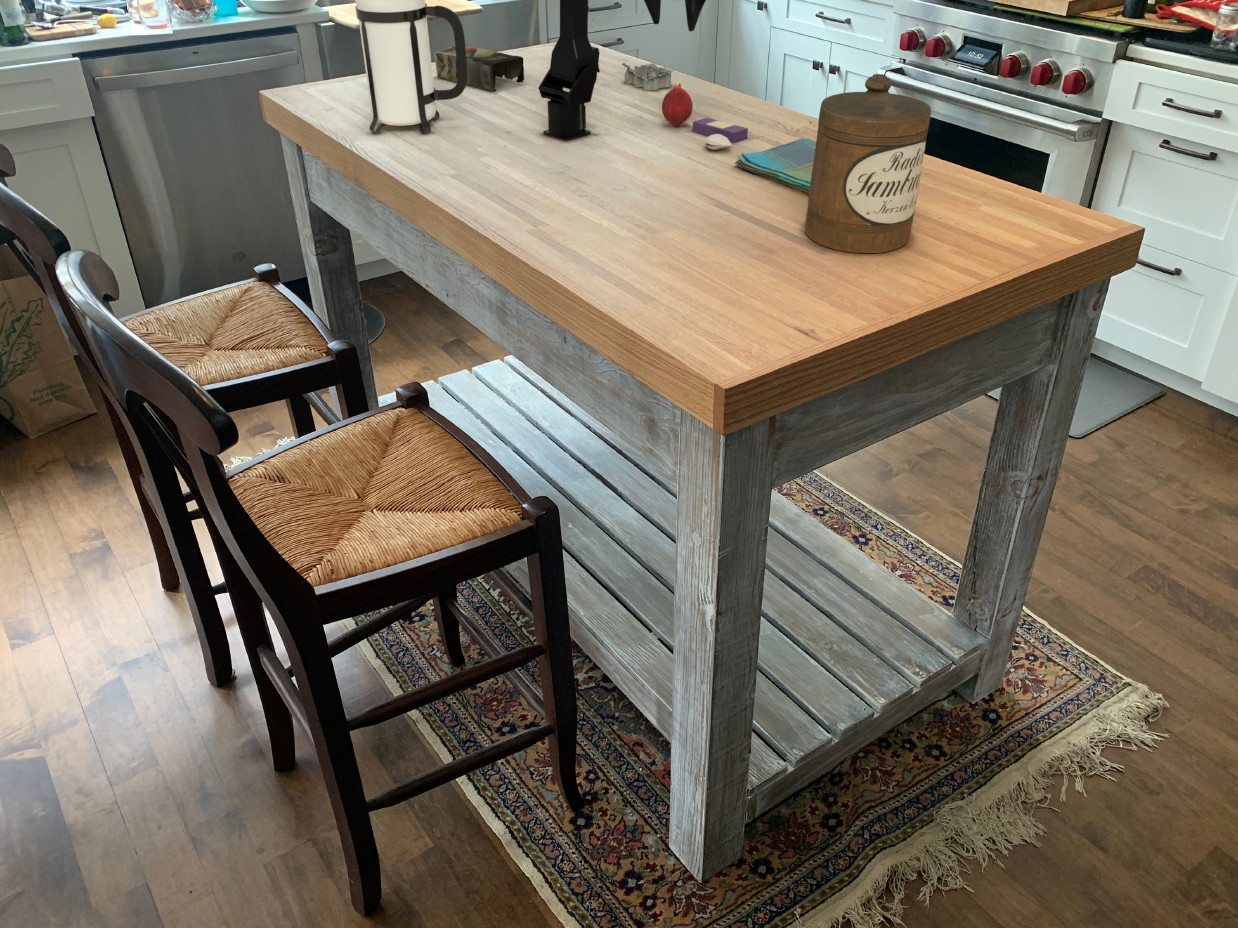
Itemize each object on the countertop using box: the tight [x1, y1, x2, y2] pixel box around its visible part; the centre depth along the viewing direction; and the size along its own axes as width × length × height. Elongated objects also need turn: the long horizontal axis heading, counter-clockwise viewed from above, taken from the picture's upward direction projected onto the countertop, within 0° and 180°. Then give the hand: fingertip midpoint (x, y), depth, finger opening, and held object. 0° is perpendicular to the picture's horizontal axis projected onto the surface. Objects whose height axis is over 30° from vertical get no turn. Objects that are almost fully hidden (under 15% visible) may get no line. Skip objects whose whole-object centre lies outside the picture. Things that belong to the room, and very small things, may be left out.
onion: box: [661, 82, 694, 128], centre depth 184 cm, size 6×6×8 cm
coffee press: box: [354, 0, 467, 135], centre depth 179 cm, size 17×16×30 cm
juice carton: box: [434, 45, 525, 92], centre depth 214 cm, size 20×10×6 cm, turn 48°
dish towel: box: [734, 137, 816, 194], centre depth 162 cm, size 17×23×2 cm
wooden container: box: [804, 73, 932, 254], centre depth 136 cm, size 15×15×22 cm
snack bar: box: [691, 117, 749, 144], centre depth 182 cm, size 10×4×2 cm, turn 44°
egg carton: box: [621, 62, 675, 91], centre depth 212 cm, size 11×8×4 cm
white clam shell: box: [705, 134, 733, 151], centre depth 174 cm, size 4×5×2 cm
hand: (673, 27), depth 191 cm, fingers open, 9 cm apart
